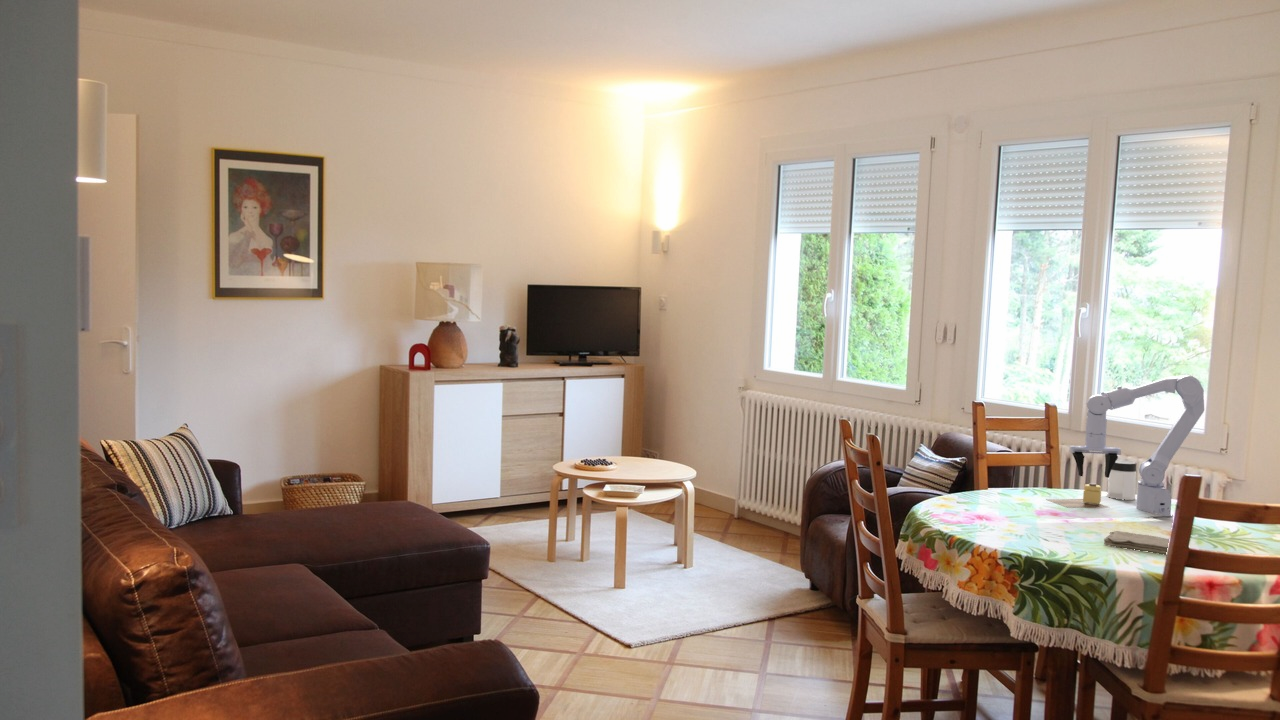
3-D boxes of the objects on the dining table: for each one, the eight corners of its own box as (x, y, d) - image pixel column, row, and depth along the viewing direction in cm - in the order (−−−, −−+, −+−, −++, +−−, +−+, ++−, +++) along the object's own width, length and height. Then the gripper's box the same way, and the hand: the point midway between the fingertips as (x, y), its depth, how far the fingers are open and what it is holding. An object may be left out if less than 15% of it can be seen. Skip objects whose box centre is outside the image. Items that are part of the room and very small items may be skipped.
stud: (1101, 505, 297) (1102, 493, 297) (1089, 505, 296) (1090, 493, 296) (1093, 502, 301) (1094, 490, 301) (1082, 502, 300) (1082, 490, 300)
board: (1109, 510, 295) (1109, 507, 295) (1067, 511, 293) (1067, 507, 293) (1085, 502, 307) (1085, 498, 307) (1045, 503, 305) (1045, 499, 305)
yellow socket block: (1084, 499, 302) (1085, 481, 301) (1100, 501, 300) (1101, 483, 299) (1083, 501, 298) (1084, 484, 298) (1099, 503, 296) (1100, 486, 295)
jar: (1105, 493, 321) (1107, 458, 320) (1132, 496, 318) (1134, 460, 318) (1108, 499, 313) (1110, 462, 312) (1136, 501, 310) (1138, 464, 309)
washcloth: (1110, 538, 262) (1110, 527, 262) (1184, 549, 252) (1185, 538, 252) (1102, 547, 253) (1103, 536, 252) (1179, 559, 242) (1180, 547, 242)
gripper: (1074, 434, 295) (1072, 477, 296) (1124, 436, 293) (1122, 479, 293) (1068, 431, 302) (1066, 473, 303) (1117, 433, 299) (1115, 475, 300)
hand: (1093, 476), depth 299 cm, fingers open, 7 cm apart
